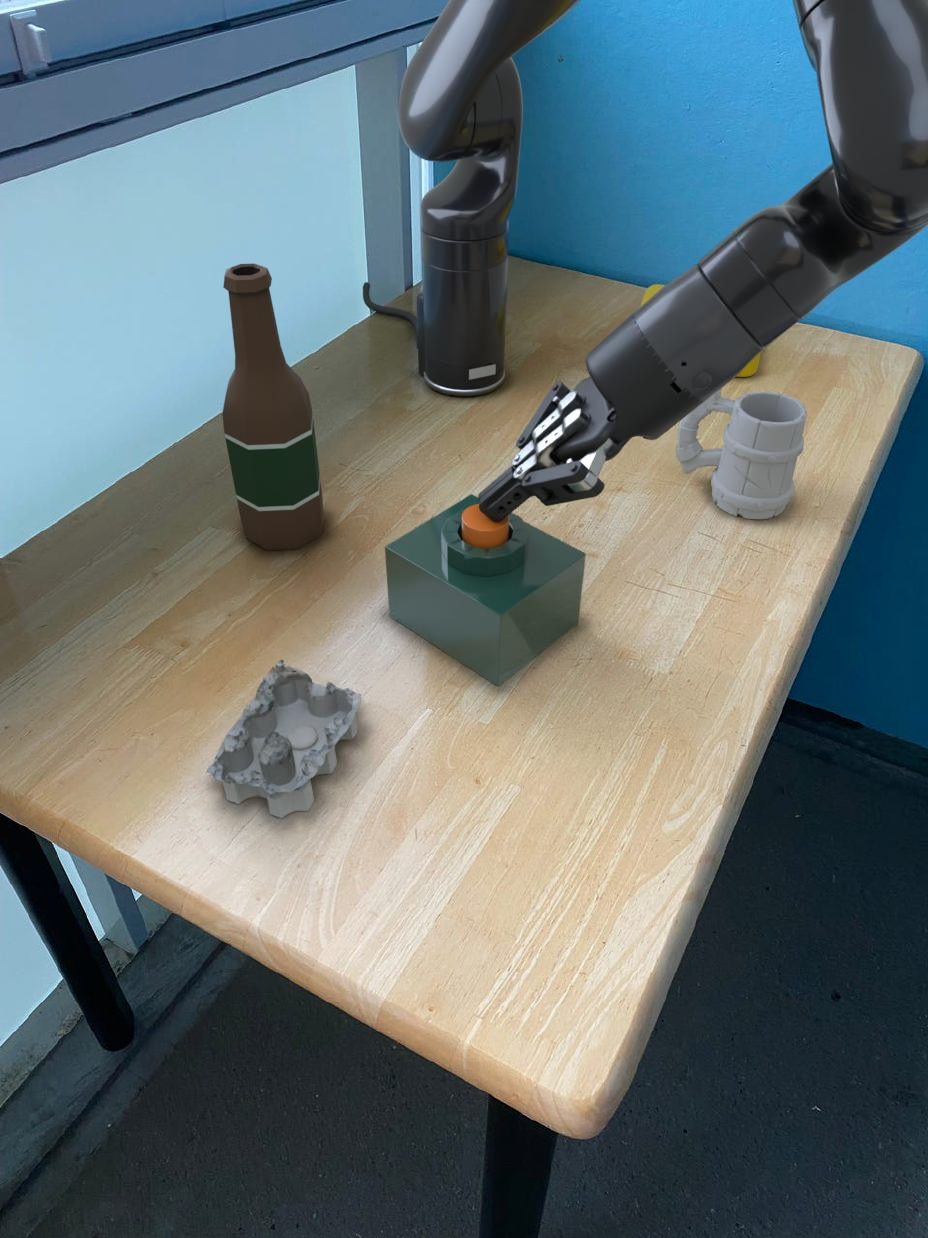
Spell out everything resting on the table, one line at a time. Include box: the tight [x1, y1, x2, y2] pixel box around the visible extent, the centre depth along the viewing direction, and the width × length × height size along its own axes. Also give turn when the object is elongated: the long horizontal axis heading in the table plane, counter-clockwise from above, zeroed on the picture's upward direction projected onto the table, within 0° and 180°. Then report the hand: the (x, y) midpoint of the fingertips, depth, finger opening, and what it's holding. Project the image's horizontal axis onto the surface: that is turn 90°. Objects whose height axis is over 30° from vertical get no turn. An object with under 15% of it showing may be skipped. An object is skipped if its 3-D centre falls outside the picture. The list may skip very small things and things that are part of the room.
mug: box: [675, 388, 808, 520], centre depth 87 cm, size 8×12×12 cm, turn 62°
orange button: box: [462, 504, 510, 548], centre depth 70 cm, size 4×4×2 cm
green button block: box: [384, 493, 587, 687], centre depth 74 cm, size 12×10×9 cm
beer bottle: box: [221, 263, 324, 551], centre depth 78 cm, size 8×8×24 cm
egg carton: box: [205, 659, 362, 819], centre depth 64 cm, size 11×8×4 cm
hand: (486, 510), depth 69 cm, fingers closed
